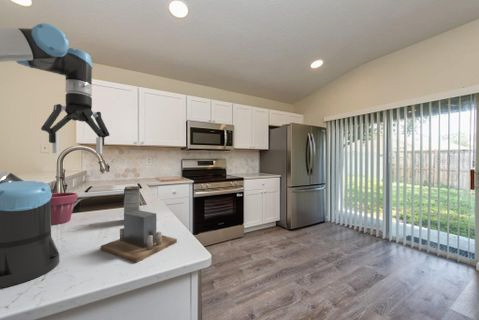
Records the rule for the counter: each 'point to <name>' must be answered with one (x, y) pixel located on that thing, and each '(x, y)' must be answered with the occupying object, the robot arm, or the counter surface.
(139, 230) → the grey square block
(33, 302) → the counter surface
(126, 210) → the coffee box
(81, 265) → the counter surface
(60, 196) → the plant pot
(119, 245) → the pin tray
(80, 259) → the counter surface
